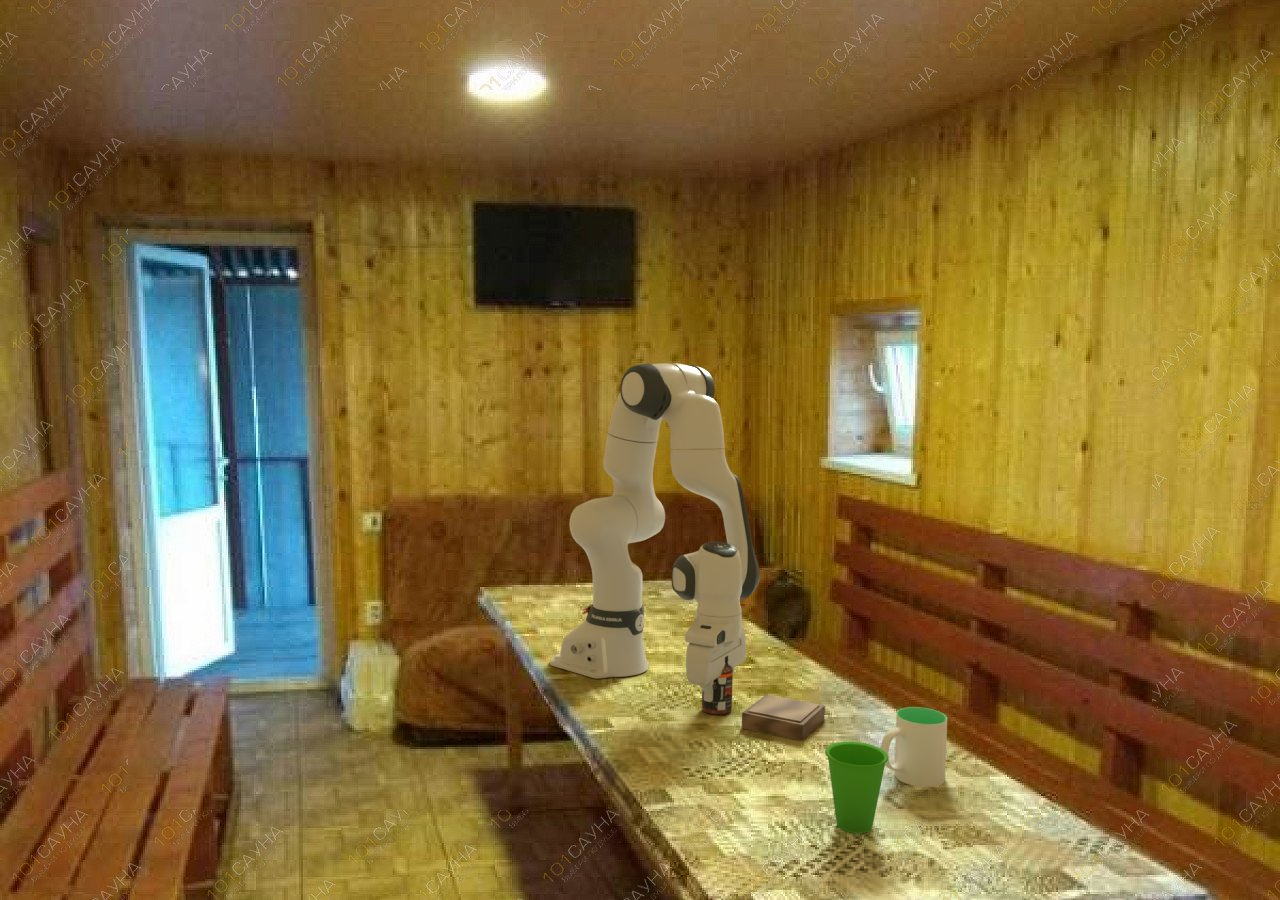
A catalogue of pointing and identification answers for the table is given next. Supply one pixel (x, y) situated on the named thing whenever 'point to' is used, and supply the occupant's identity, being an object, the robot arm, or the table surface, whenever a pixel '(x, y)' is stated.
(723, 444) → the robot arm
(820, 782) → the table surface
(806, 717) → the brown box
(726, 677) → the supplement bottle
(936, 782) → the mug
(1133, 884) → the table surface
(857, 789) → the cup
